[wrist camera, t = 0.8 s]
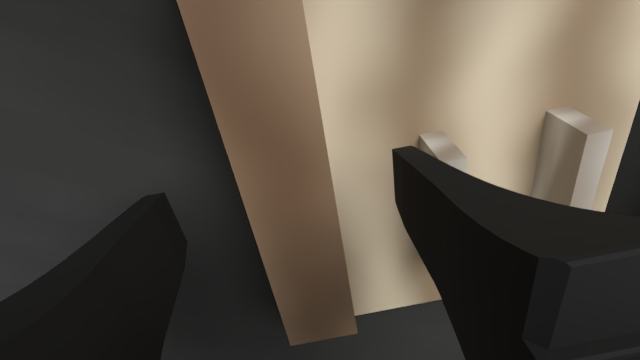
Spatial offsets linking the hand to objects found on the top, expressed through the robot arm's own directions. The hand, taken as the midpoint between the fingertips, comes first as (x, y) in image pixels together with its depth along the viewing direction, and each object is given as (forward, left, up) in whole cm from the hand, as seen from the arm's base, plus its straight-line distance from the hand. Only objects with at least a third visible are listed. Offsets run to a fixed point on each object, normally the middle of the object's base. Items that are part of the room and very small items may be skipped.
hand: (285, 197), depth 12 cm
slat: (0, 0, -4) cm, 4 cm away
